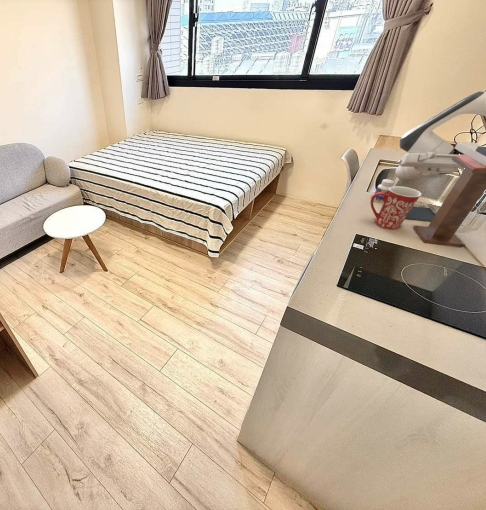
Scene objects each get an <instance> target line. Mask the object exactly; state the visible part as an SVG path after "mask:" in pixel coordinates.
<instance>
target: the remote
mask: <svg viewBox="0 0 486 510" xmlns="http://www.w3.org/2000/svg"><path fill="white" fill-rule="evenodd" d="M454 150H456V151H458V152H460V153H461V154H462V155H463V154H465V155H467V156H469V157H470V158H472V159H474V160H476V161H477V162H479V163H481V164H482V165H484V166H486V146H482V145H480V144H478V143H476V142H470V141H457V143H456V145H455V146H454Z"/></svg>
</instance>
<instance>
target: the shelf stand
mask: <svg viewBox="0 0 486 510" xmlns="http://www.w3.org/2000/svg"><path fill="white" fill-rule="evenodd" d="M454 155H455V157H453V158H452V160H453V161H454V162H456V163H457V164H459V165H460V166H462V167H463V168H465V169H463V170H462V172H461V173H460V175H459V176H458V178H457V180H456V182H455V183H454V185H453V186H452V188H451V189H450V191H449V192H448V194H447V196H446V197H445V199H444V200H443V202H442V203H441V205H440V206H439V208H438V209H437V212H436V213H435V214H436V215H435V216H434V218H433V220H432V221H431V222H430V223H429V224H428V226H423V225H421V226H420V225H414V226H413V228H412V229H413V231H414V232H415V234H416V235H417V236H418V237H419V238H420V240H421V241H422V243H423V244H429V245H439V246H447V247H455V248H463V246H464V245H465V244H464V243H463V241H461V240H460V239H459V238H458V236H456V232H457V231H458V229H459V228H460V227H461V226H462V224H463V222H464V221H465V219H467V216H468V215H469V214H470V213H471V211H472V209H473V208H474V206H475V205H476V204H477V203H478V201H479V200H480V198H481V197H482V196H483V194H484V193H485V191H486V166H484V165H482V164H481V163H479V162H477V161H476V160H474V159H472V158H470V157H469V156H460V155H461V154H454Z"/></svg>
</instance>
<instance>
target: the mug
mask: <svg viewBox="0 0 486 510" xmlns="http://www.w3.org/2000/svg"><path fill="white" fill-rule="evenodd" d="M374 193H375V192H374ZM374 193H373V195H372V196H371V199H370V208H371V211H372V212H373V215H374V217H375V218H376V219H375V224H376V226H379V227H380V228H383V229H387V230H398V229H399V228H400V227H401V226H402V224H403V222H404V221H405V220H406V219H405V218H406V216H407V215H408V213H409V212H410V210H411V209H412V207H413V206H414V207H415V204H416V203H417V202H418V200H419V198H420V197H421V196H422V192H421V191H419V190H418V189H414V188H412V187H407V186H399V185H393V187H390V188H389V191H388V194H386V193H383V192H377V193H375V194H374ZM378 195H383V197H384V203H382V205H381V208H380V210H379V212H377V210H376V209H375V205H374V202H375V201H374V198H375V197H376V196H378Z"/></svg>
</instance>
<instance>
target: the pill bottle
mask: <svg viewBox="0 0 486 510" xmlns="http://www.w3.org/2000/svg"><path fill="white" fill-rule="evenodd" d="M394 184H395V180H393V179H388V178H384V179H382V180H381V183H379V184H378V186H377V187H376V189H375V190H374V193H373V195H374V194H375V193H377V192H383V193H386V194H388V191H389V188H390V187H393V186H394ZM373 202H375V203H379V204H383V203H384V197H383V195H378V196H376V197H375V198H374V201H373Z"/></svg>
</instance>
